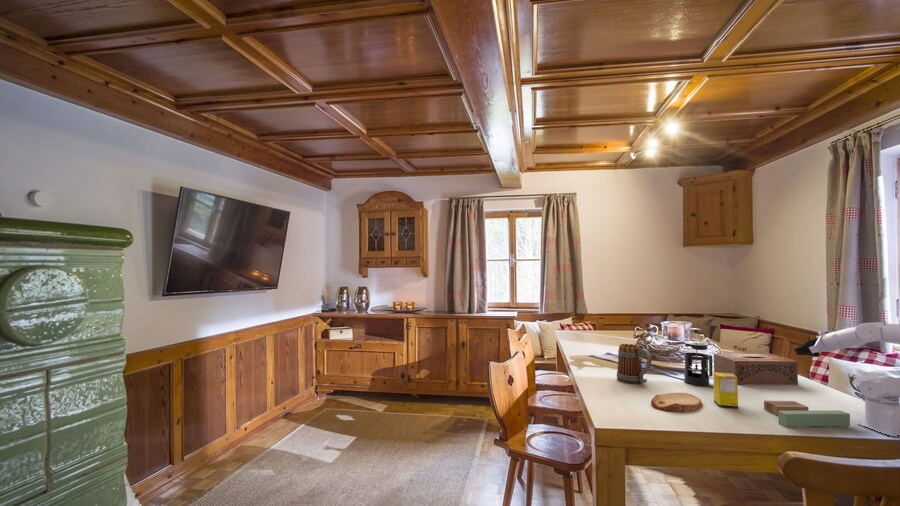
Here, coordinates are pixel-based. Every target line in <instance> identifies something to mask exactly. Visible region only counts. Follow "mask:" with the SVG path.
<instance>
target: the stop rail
mask: <svg viewBox="0 0 900 506" xmlns="http://www.w3.org/2000/svg"><path fill="white" fill-rule="evenodd" d="M777 417H778V419H777V420H778V423H779V425H781V426H783V427H785V426H786V427H785V428H808V427H807V426H840V427H839V428H844V427H843V426H850V427H851V414H850V413H848V412H846V411H843V410H839V409H838V410H835V409H834V410H829V409H828V410H808V411H778V416H777Z"/></svg>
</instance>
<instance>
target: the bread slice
mask: <svg viewBox="0 0 900 506" xmlns="http://www.w3.org/2000/svg"><path fill="white" fill-rule="evenodd" d="M650 404H651V406H652V407H653V408H654V409H655V410H659V411H660V412H673V413H674V412H675V413H687V412H689V413H690V412H695V411H697V410H699V409H701V408H702V406H703V402H702V400H701V398H699V397H698V396H695V395H694V394H691V393H688V392H668V393H661V394H660V393H659V394H655V395H654V396H653V398H652V399H651V400H650Z"/></svg>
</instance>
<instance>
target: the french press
mask: <svg viewBox="0 0 900 506" xmlns="http://www.w3.org/2000/svg"><path fill="white" fill-rule="evenodd" d="M690 331H694V334H695V340H688V341H687V340H685V341H684V342H683V344H685V347H686V348H687V347H691V349H693V350H695V352H690V351H689V352H684V353H683V357H684V373H683V374H684V380H683V382H684V383H685V384H687V385H690V386H695V387H710V385H711V383H710V377H713V372H714V370H713V355H711V354H705V353H701V352H698V351H707V350H708V346H709V343H707V342H703V341H697V340H698V339H697V334H698V331H702V329H701V328H697V327H696V328H695V327H694V328H692V327H691V328H690ZM693 360H694V361H695V364H694V365H693ZM698 361H700V365H698ZM698 372H699V373H698Z"/></svg>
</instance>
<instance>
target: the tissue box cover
mask: <svg viewBox="0 0 900 506" xmlns="http://www.w3.org/2000/svg"><path fill="white" fill-rule="evenodd" d="M798 363H799V362H798V360H794V359H791V358H787V357H783V356H779V355H776V354H773V353H713V372H720V373H732V374H733V375H735V376H736V377H737V381H738V385H761V386H762V385H767V386H768V385H770V386H771V385H773V386H782V385H784V386H798V385H799V377H798V376H799V375H798V374H799V373H798V371H799V370H798V369H799V367H798Z"/></svg>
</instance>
